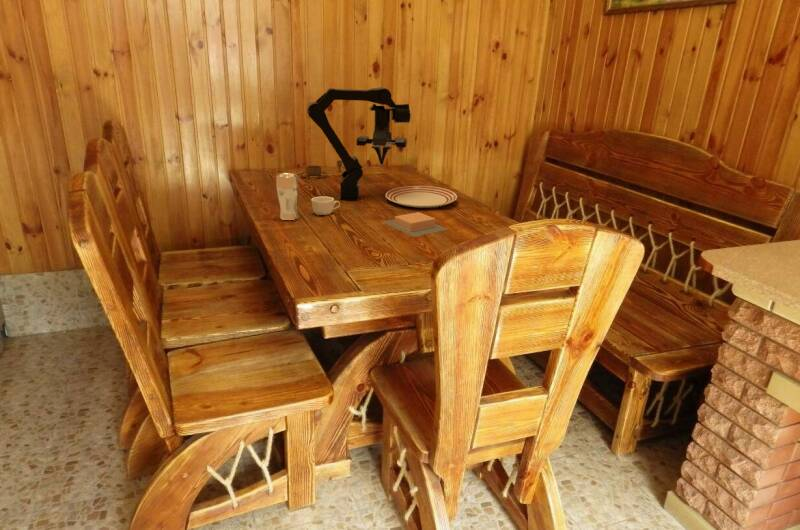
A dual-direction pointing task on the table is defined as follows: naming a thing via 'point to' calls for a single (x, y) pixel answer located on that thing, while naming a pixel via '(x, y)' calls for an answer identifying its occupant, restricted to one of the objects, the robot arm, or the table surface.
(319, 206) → the teacup
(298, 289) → the table surface
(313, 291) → the table surface
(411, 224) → the tile
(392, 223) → the mat
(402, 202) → the dinner plate
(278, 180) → the beer glass
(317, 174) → the place setting
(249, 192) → the table surface
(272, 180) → the table surface
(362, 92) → the robot arm
